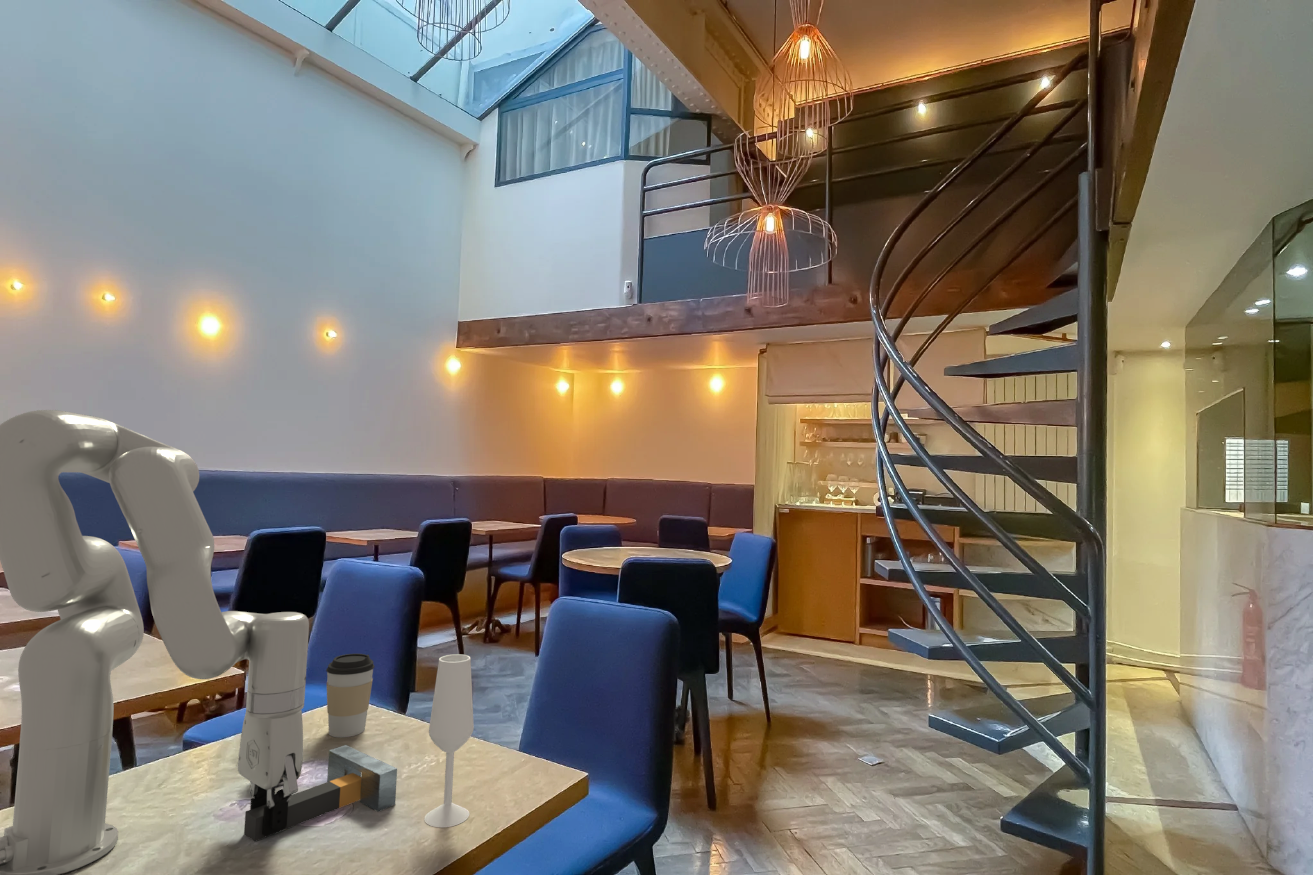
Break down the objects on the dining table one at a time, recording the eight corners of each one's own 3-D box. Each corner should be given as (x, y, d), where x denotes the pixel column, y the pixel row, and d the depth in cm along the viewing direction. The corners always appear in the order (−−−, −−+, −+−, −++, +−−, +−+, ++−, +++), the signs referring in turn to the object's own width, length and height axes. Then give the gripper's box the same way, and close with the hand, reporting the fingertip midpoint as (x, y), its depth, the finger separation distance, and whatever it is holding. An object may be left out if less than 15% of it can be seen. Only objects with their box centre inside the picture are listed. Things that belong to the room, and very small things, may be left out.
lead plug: (254, 841, 95) (256, 818, 95) (243, 834, 97) (245, 811, 97) (362, 798, 108) (364, 778, 109) (351, 792, 110) (352, 772, 110)
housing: (378, 811, 104) (380, 774, 105) (326, 784, 113) (329, 750, 113) (395, 804, 107) (397, 768, 107) (343, 778, 115) (345, 744, 116)
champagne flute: (447, 801, 108) (454, 650, 110) (478, 812, 105) (486, 656, 107) (414, 819, 102) (422, 659, 104) (447, 831, 99) (455, 666, 101)
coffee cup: (317, 740, 131) (321, 662, 132) (328, 723, 140) (332, 650, 141) (366, 737, 133) (371, 661, 134) (374, 721, 142) (378, 649, 143)
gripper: (223, 693, 101) (214, 819, 100) (277, 718, 91) (268, 858, 90) (275, 682, 107) (267, 800, 106) (330, 704, 97) (322, 835, 96)
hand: (267, 826), depth 98 cm, fingers closed on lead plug, 3 cm apart
